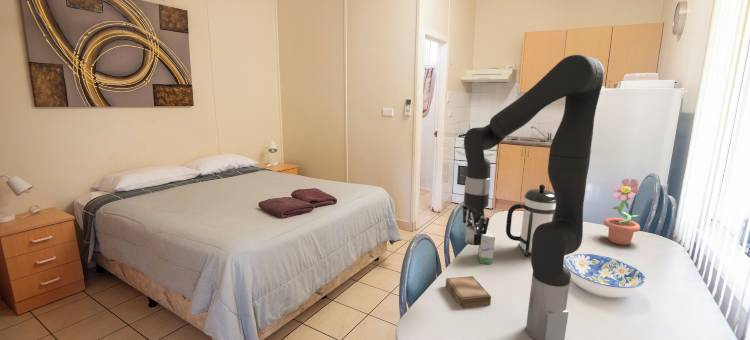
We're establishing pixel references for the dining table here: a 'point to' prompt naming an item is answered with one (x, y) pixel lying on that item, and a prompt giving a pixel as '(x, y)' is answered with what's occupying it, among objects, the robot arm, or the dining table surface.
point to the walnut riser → (468, 292)
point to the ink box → (486, 247)
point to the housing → (470, 235)
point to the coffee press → (532, 215)
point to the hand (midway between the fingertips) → (473, 241)
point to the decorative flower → (623, 214)
